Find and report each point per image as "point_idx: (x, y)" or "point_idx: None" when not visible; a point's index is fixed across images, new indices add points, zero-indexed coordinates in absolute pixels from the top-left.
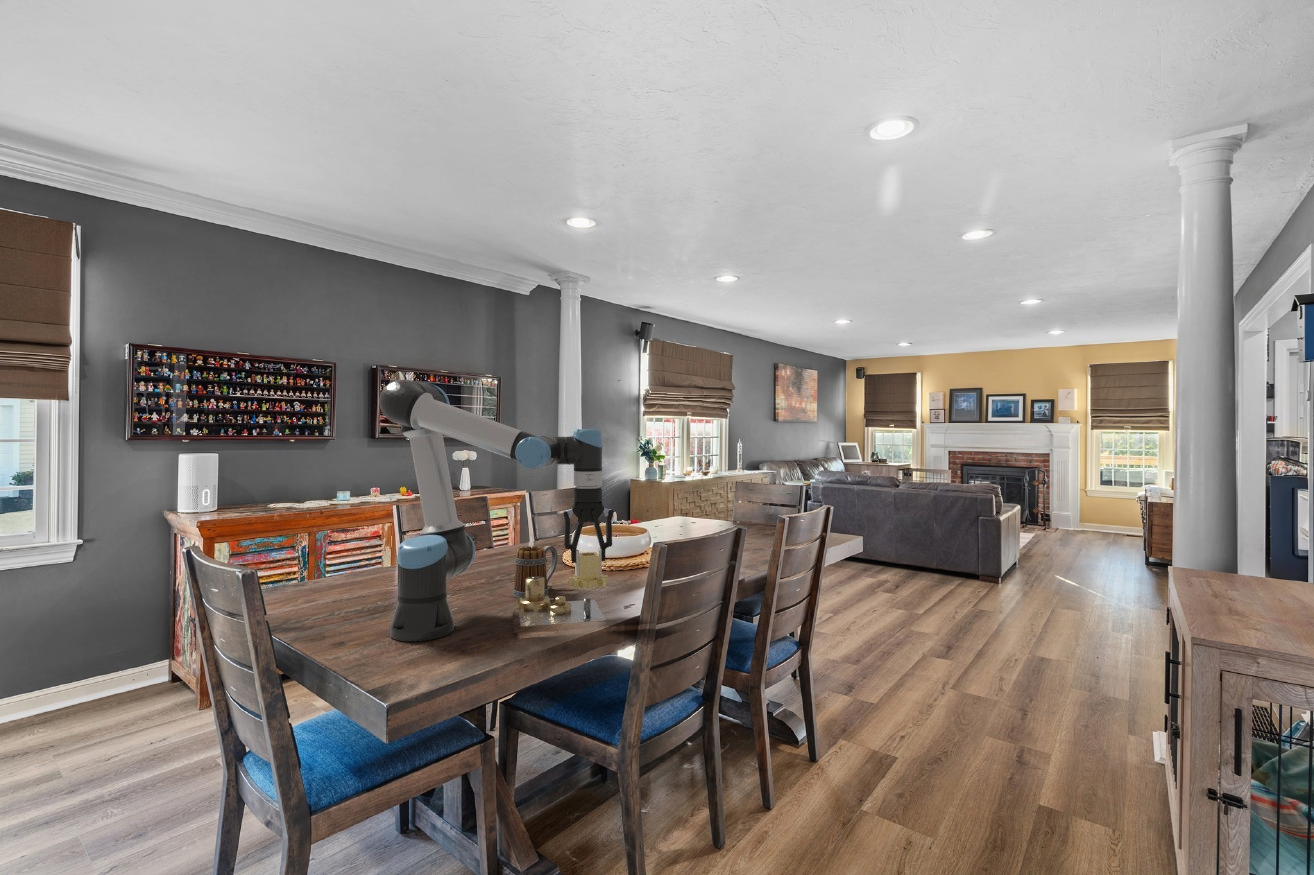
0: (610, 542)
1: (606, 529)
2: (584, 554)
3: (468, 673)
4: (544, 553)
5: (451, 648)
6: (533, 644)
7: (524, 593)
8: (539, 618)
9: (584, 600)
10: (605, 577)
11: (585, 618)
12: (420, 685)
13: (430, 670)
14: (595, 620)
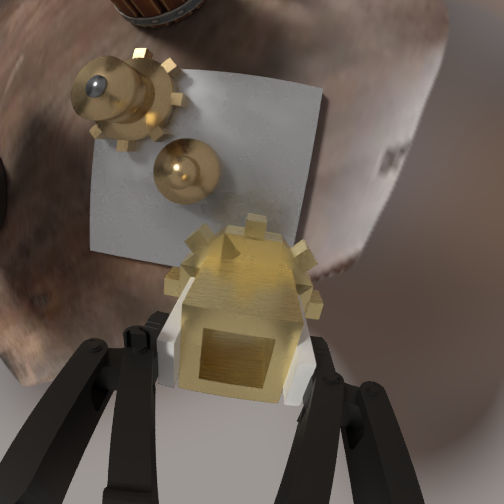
0: (356, 434)
1: (370, 479)
2: (222, 327)
3: (57, 371)
4: None
5: (17, 284)
6: (118, 325)
7: (129, 18)
8: (129, 208)
9: None
10: (308, 315)
11: None
12: (28, 371)
13: (21, 343)
14: None
